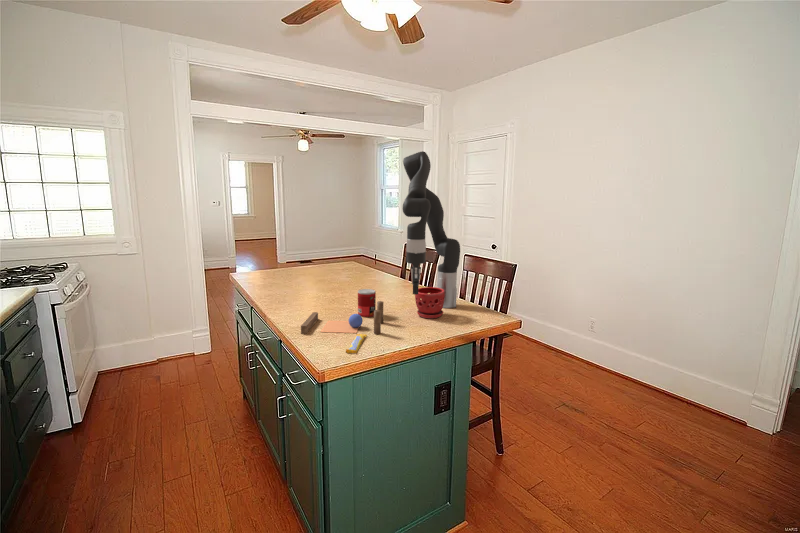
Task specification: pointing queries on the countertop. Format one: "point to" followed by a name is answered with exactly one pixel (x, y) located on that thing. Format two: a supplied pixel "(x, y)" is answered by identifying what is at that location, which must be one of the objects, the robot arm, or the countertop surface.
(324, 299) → the countertop surface
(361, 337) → the candy bar
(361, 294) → the canned food
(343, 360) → the countertop surface
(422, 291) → the plant pot
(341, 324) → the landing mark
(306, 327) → the strip
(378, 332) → the post
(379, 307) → the post
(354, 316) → the ball
